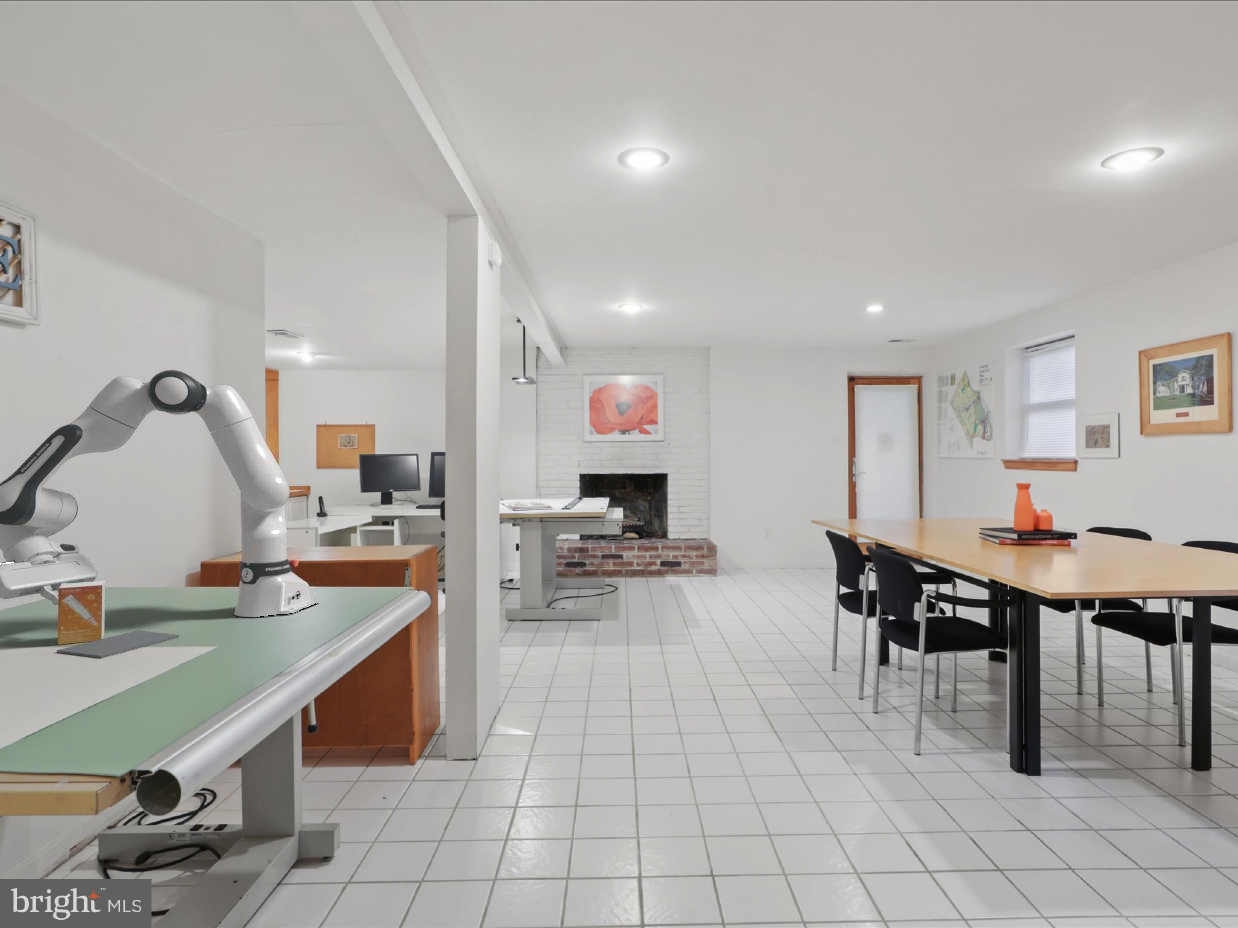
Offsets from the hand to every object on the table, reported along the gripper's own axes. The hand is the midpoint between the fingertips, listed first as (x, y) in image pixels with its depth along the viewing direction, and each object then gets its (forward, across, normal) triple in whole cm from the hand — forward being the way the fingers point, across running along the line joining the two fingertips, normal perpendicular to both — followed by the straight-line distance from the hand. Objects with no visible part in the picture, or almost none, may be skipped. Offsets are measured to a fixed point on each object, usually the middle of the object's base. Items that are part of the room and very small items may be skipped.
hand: (63, 602), depth 158 cm
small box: (+10, 0, +2) cm, 11 cm away
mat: (+19, 0, -7) cm, 20 cm away
